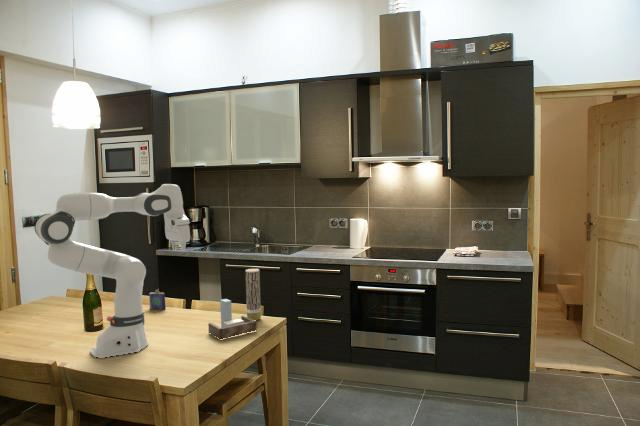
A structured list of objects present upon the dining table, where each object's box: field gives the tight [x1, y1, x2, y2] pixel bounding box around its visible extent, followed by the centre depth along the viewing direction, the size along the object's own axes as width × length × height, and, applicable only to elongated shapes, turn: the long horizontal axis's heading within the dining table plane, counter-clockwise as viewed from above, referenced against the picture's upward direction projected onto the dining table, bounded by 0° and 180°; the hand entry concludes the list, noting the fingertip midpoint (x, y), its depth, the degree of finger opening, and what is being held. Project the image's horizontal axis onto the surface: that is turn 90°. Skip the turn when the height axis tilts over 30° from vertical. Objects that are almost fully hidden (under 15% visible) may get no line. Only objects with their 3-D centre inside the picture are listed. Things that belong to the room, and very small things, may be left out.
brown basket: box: [207, 315, 257, 340], centre depth 227 cm, size 18×12×5 cm, turn 127°
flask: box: [148, 289, 166, 311], centre depth 271 cm, size 9×3×11 cm, turn 76°
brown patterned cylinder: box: [245, 268, 262, 321], centre depth 247 cm, size 7×7×25 cm
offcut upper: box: [224, 318, 244, 328], centre depth 226 cm, size 8×4×3 cm, turn 126°
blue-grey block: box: [219, 298, 233, 328], centre depth 232 cm, size 3×5×14 cm, turn 37°
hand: (179, 250), depth 222 cm, fingers open, 8 cm apart
